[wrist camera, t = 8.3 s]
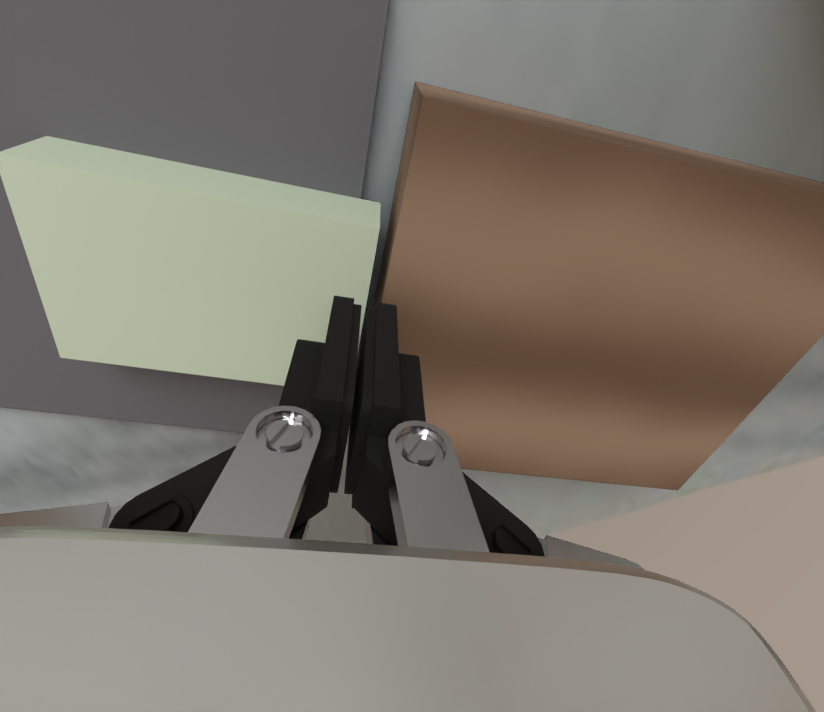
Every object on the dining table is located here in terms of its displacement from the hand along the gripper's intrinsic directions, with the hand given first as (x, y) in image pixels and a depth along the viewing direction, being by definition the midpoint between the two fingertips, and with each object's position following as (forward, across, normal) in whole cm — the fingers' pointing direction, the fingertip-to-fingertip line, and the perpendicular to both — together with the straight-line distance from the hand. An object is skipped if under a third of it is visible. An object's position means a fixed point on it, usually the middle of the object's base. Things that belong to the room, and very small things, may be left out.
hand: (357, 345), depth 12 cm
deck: (+4, -8, 0) cm, 9 cm away
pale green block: (+3, +4, 0) cm, 5 cm away
